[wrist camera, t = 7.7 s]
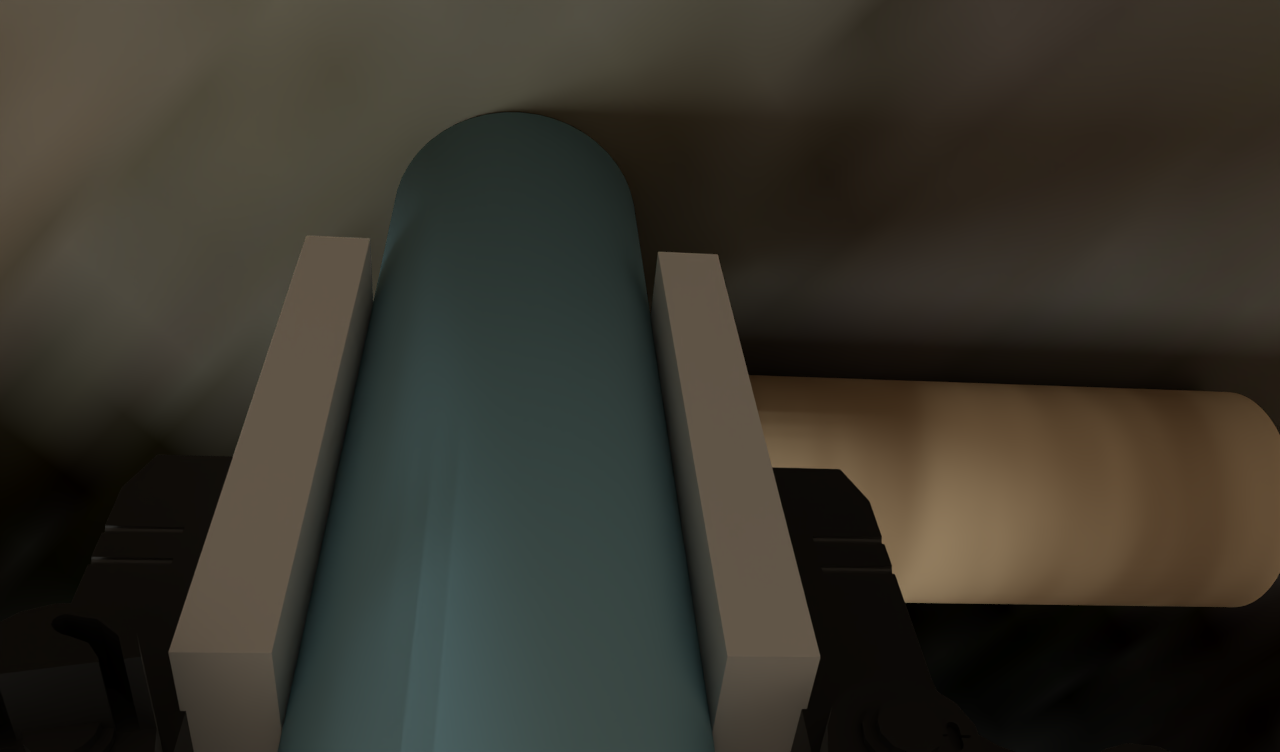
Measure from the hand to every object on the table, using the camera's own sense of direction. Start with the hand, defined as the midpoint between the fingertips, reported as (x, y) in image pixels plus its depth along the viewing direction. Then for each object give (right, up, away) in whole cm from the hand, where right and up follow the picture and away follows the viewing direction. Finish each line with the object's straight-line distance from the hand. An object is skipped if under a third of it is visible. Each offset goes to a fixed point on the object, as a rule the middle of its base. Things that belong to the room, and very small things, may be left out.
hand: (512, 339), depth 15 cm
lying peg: (+6, -2, +2) cm, 7 cm away
